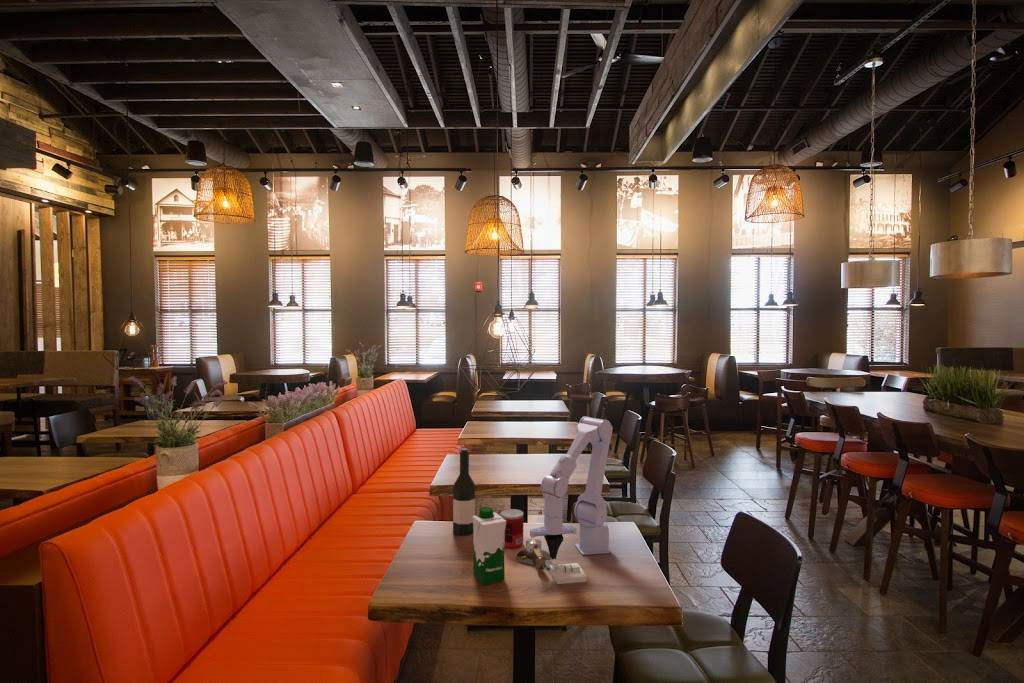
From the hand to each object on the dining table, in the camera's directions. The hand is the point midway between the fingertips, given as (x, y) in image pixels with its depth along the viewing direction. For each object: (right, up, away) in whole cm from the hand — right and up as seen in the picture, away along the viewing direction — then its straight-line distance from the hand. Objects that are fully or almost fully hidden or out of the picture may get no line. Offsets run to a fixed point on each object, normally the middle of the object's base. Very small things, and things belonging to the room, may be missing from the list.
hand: (552, 557), depth 170 cm
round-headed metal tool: (-5, -2, +2) cm, 6 cm away
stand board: (+4, -3, -6) cm, 8 cm away
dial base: (-6, -3, +4) cm, 7 cm away
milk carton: (-20, -3, -7) cm, 21 cm away
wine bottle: (-30, -2, +27) cm, 41 cm away
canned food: (-13, -2, +16) cm, 21 cm away
